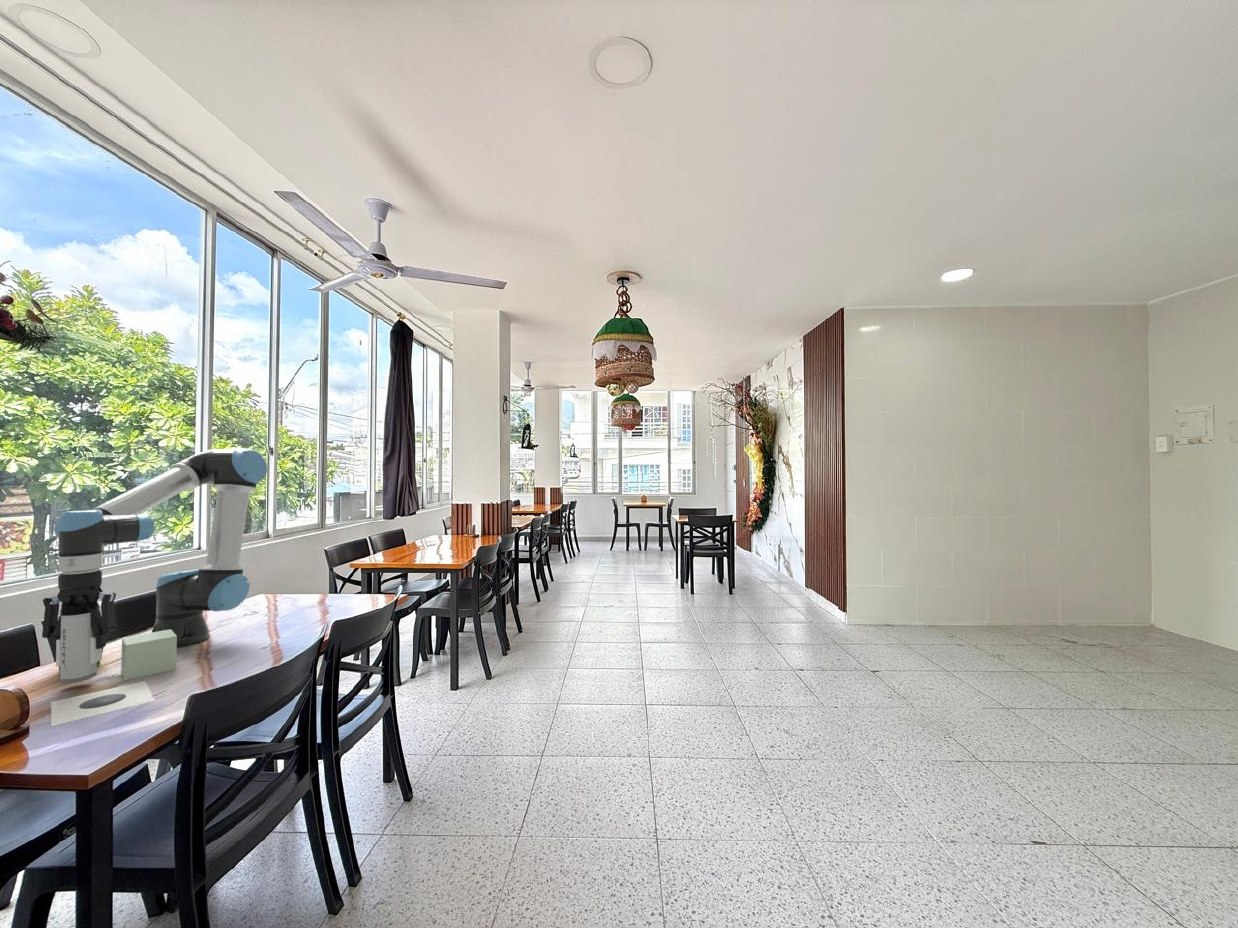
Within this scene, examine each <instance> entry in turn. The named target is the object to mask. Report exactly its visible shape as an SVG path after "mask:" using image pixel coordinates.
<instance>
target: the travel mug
mask: <svg viewBox="0 0 1238 928" xmlns="http://www.w3.org/2000/svg"><path fill="white" fill-rule="evenodd" d="M97 602H98V600H97V601H94V602H92V603H87V604H84V605H78V604H75V605H74V604H70V605H63V603H62V602H61V608H60V610H61V611H62V612H61V617H62V618H61V653H60V673H59V677H60V678H59V683H60V684H63V685H64V684H75V683H79V682H84V681H88V680H90V679H93V678H95V676H97V672H98V670H97V669H98V668H97V662H96V663H92V664H90V638H91V637H92V636H94V633H93V630H92V628H91V625H90V620H91V616H90V614H91V613H90V611H87V609H88V608H90V609H92V610H96V608H95V607H97ZM87 606H88V608H87ZM96 668H97V669H96Z"/></svg>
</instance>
